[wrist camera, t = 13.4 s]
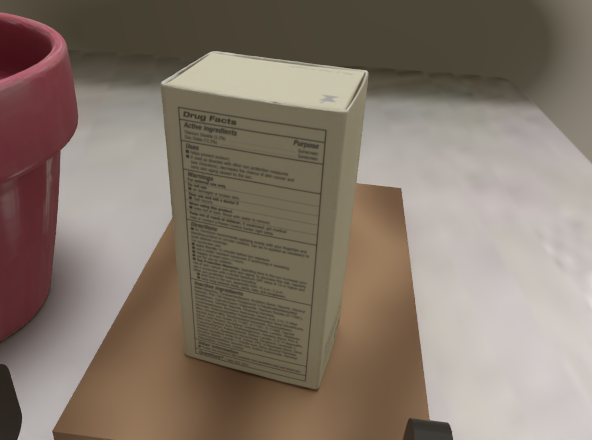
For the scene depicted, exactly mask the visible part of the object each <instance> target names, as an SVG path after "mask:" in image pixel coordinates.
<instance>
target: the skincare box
mask: <svg viewBox="0 0 592 440" xmlns="http://www.w3.org/2000/svg"><path fill="white" fill-rule="evenodd" d="M367 83H368V72H367V71H365V70H354V69H348V68H341V67H332V66H325V65H315V64H309V63H301V62H294V61H285V60H279V59H270V58H262V57H255V56H245V55H239V54H233V53H225V52H217V51H213V52H210V53H208V54H207V55H205V56H204V57H202V58H201V59H199V60H197V61H195V62H193V63H192V64H190V65H188V66H187V67H185V68H184V69H182V70H180V71H179V72H177V73H176V74H174V75H173V76H171V77H169V78H167V79H166V80H165V81H162V82H161V93H162V103H163V114H164V126H165V136H166V146H167V158H168V170H169V180H170V193H171V205H172V217H173V228H174V239H175V251H176V262H177V273H178V286H179V297H180V307H181V319H182V330H183V342H184V352H185V354H186V355H187V356H190V357H194V358H197V359H201V360H204V361H207V362H211V363H215V364H218V365H222V366H225V367H229V368H233V369H237V370H240V371H244V372H248V373H252V374H256V375H259V376H263V377H266V378H270V379H274V380H277V381H281V382H286V383H290V384H295V385H299V386H303V387H307V388H311V389H318V388H319V386H320V383H321V380H322V377H323V375H324V372H325V369H326V366H327V363H328V360H329V357H330V354H331V351H332V348H333V345H334V341H335V338H336V334H337V330H338V327H339V321H340V313H341V304H342V296H343V288H344V280H345V272H346V263H347V255H348V247H349V240H350V231H351V222H352V214H353V206H354V197H355V189H356V181H357V172H358V164H359V155H360V146H361V137H362V128H363V120H364V110H365V101H366V92H367Z"/></svg>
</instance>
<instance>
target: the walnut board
mask: <svg viewBox="0 0 592 440" xmlns="http://www.w3.org/2000/svg"><path fill="white" fill-rule="evenodd" d="M409 418H415V419H422V420H430V419H429V411H428V403H427V395H426V387H425V379H424V371H423V363H422V354H421V346H420V338H419V330H418V322H417V314H416V306H415V298H414V289H413V281H412V273H411V265H410V257H409V249H408V241H407V232H406V224H405V216H404V208H403V200H402V192H401V188H394V187H385V186H376V185H367V184H358V183H356V189H355V197H354V206H353V214H352V222H351V231H350V240H349V247H348V255H347V263H346V272H345V280H344V288H343V296H342V304H341V313H340V321H339V327H338V330H337V334H336V338H335V341H334V345H333V348H332V351H331V354H330V357H329V360H328V363H327V366H326V369H325V372H324V375H323V377H322V380H321V383H320V386H319V388H318V389H311V388H307V387H303V386H299V385H295V384H290V383H286V382H281V381H277V380H274V379H270V378H266V377H263V376H259V375H256V374H252V373H248V372H244V371H240V370H237V369H233V368H229V367H225V366H222V365H218V364H215V363H211V362H207V361H204V360H201V359H197V358H194V357H190V356H187V355H186V354H185V352H184V342H183V330H182V319H181V307H180V297H179V286H178V273H177V262H176V251H175V239H174V228H173V218H172V220H171V221H170V223H169V225H168V227H167V228H166V230H165V232H164V234H163V236H162V237H161V239H160V241H159V243H158V244H157V246H156V248H155V250H154V252H153V253H152V255H151V257H150V259H149V260H148V262H147V264H146V266H145V268H144V269H143V271H142V273H141V275H140V276H139V278H138V280H137V282H136V284H135V285H134V287H133V289H132V291H131V292H130V294H129V296H128V298H127V300H126V301H125V303H124V305H123V307H122V308H121V310H120V312H119V314H118V316H117V317H116V319H115V321H114V323H113V324H112V326H111V328H110V330H109V332H108V333H107V335H106V337H105V339H104V340H103V342H102V344H101V346H100V348H99V349H98V351H97V353H96V355H95V356H94V358H93V360H92V362H91V364H90V365H89V367H88V369H87V371H86V372H85V374H84V376H83V378H82V380H81V381H80V383H79V385H78V387H77V388H76V390H75V392H74V394H73V396H72V397H71V399H70V401H69V403H68V404H67V406H66V408H65V410H64V412H63V413H62V415H61V417H60V419H59V420H58V422H57V424H56V426H55V428H54V429H53V431H52V432H53V436H54V440H403V436H404V433H405V429H406V425H407V422H408V419H409Z"/></svg>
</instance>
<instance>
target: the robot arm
mask: <svg viewBox="0 0 592 440" xmlns="http://www.w3.org/2000/svg"><path fill="white" fill-rule="evenodd" d="M21 424H22V413H21V409H20V406H19V403H18V399H17V396H16V392H15V389H14V386H13V382H12V379H11V375H10V372H9V369H8V367H7V366H6V365H4V364H0V440H17V439H18V436H19V433H20V429H21ZM403 440H453V436H452V431H451V427H450V425H449V423H446V422H438V421H430V420H422V419H415V418H409V419H408V422H407V425H406V429H405V433H404V436H403Z"/></svg>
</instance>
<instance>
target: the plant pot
mask: <svg viewBox="0 0 592 440" xmlns="http://www.w3.org/2000/svg"><path fill="white" fill-rule="evenodd" d="M77 124H78V110H77V102H76V95H75V89H74V82H73V75H72V70H71V65H70V59H69V54H68V49H67V45H66V42H65V40H64V39H63V37H62V36H61V35H60V34H59V33H58V32H56V31H55V30H54V29H52V28H50V27H48V26H47V25H44V24H42V23H39V22H37V21H34V20H31V19H27V18H23V17H19V16H16V15H11V14H6V13H0V341H2V340H4V339H5V338H7V337H9V336H10V335H12V334H13V333H15V332H16V331H17V330H19V329H20V328H21V327H23V326H24V325H25V324H26V323H27V322H29V321H30V320H31V319H32V318H33V317H34V316H35V314H36V313H37V312H38V311H39V310H40V308H41V307H42V305H43V304H44V302H45V300H46V298H47V296H48V294H49V291H50V286H51V275H52V264H53V254H54V245H55V235H56V224H57V211H58V196H59V177H60V152H61V149H62V148H63V147H64V146H65V145H66V144H67V143H68V142H69V141H70V139H71V138H72V136H73V135H74V133H75V130H76V128H77Z"/></svg>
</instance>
